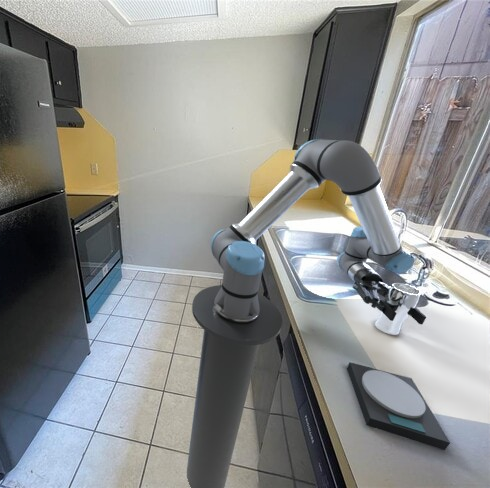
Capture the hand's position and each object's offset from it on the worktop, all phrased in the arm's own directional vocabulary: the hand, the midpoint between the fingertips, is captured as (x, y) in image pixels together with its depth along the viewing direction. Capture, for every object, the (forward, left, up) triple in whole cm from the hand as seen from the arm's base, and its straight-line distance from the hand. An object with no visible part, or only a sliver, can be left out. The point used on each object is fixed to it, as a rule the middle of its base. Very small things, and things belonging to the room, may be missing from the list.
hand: (408, 318), depth 74 cm
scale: (+25, -11, -8) cm, 29 cm away
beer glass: (-5, -1, -8) cm, 10 cm away
